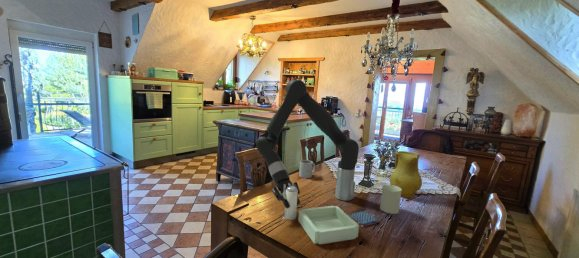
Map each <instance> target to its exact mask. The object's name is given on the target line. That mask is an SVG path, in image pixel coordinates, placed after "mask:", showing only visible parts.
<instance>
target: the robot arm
mask: <svg viewBox="0 0 579 258" xmlns="http://www.w3.org/2000/svg"><path fill="white" fill-rule="evenodd" d="M285 91H286V95H285V98H284V100H283V102H282V103H281V105H280V106H279V108H278V109H277V110H276V112H275V113H274V114H273V116H272V118H271V120H270V121H269V123H268V125H267V127H266V132H267V133H268V135H267V137H266V136H259V137H258V138H257V139H256V143H255V144H256V145H255V146H256V149H257V151H258V152H259V154H260V156H261V157H262V158H263V159H264V160H265V163H266V165H267V168H268V172H269V173H270V176H271V178H272V181H273V183H274V185H275V186H274V187H273V188H272V189H271V192H272V193H273V195H274V197H275V199H276V200H277V201H278V202H279V201H281V202H282V204H283V205H284V208H285V207H286V208H289V207H290V205H289V203H288V200H287V199H286V189H287V187H288V186H295V187H297V190H298V195H297V206H298V205H300V204H301V200H300V197H299V194H300V193H301V191H300V187H299V185H298V182H297V181H294V182H292V181H291V180H290V176H289V173H288V171H287V169H286V167H285V165H284V164H283V161H282V160H281V157H280V154H278V152H276V151H275V148H276V147H277V144H278V140H279V137H280V134H281V133H282V130H283V128H284V127H285V125H286V123H287V121H288V119H289V118H290V115H291V114H292V112H293V111H294V109H295V107H296V106H297V105H299V106H300V107H301V108H302V109H303V111H304V112H305V114H306V115H307V116H308V118H309V119H310V120H311V121H312V122H313V124H314V125H315V126H316V127H317V128H319V130H320V131H321V132H322V133H323V134H325V135H326V136H327V137H328V138H329V139H330V140H331V142H332V143H333V144H334V146H335V147H336V149H337V150H338V151H339V152H340V153H341V155H340V157H341V158H340V160H339V161H338V162H337V170H336V180H335V181H336V182H335V192H334V193H335V195H334V197H335V198H336V199H338V200H340V201H345V202H348V201H352V199H353V200H354V199H355V198H354V197H355V188H356V181H354V180H355V172H356V166H357V163H358V159H359V150H360V149H359V147H360V146H359V144H358V142H357V141H356V140H354V139H353V138H351V137H348V136H347V135H346V134H345V132H343V131H342V130H341V129H340V127H339V126H338V124H337V121H336V120H335V118H334V117H333V115H332V114H331V113H330V112H329V111H328V110H327V109H326V108H325V106H323V105H321V104H320V103H319V102H318V101H316V100H315V99H314V98H313V97H312V96H311V95H310V94H309V92H308V91H307V85H306V84H305V82H304V81H303V80H300V79H292V80H290V81H288V82H287V83H286V87H285Z"/></svg>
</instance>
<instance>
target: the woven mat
mask: <svg viewBox="0 0 579 258" xmlns="http://www.w3.org/2000/svg"><path fill="white" fill-rule="evenodd" d="M347 215H348V216H349V217H350V218H351V219H352V220H353V221H354V222H356V223H357V224H358V225H359V227H361V228H364V227H365V228H366V227H367V226H371V225H374V224H378V223H379V221H380V220H379V219H377V218H376V217H374V216H372V215H371V214H370V213H367V212H366V211H365V210H361V211H358V212H353V213H349V214H347Z"/></svg>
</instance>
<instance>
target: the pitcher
mask: <svg viewBox="0 0 579 258" xmlns="http://www.w3.org/2000/svg"><path fill="white" fill-rule="evenodd" d="M420 156H421V154H420V153H417V152H412V151H405V150H398V151H396V152H395V157H394V159H395V160H394V165H395V167H394V168H395V169H394V170H393V171H392V173H391V174H390V178H389V179H390V180H389V185H394V186H397V187H399V188H401V189H402V191H401V198H406V199H413V198H415V197H416V195H415V194H416V193H417V191H419V190H421V188H422V186H423V185H422V184H423V180H422V177H421V174H420V173H419V171H420V170H419V159H420Z"/></svg>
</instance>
